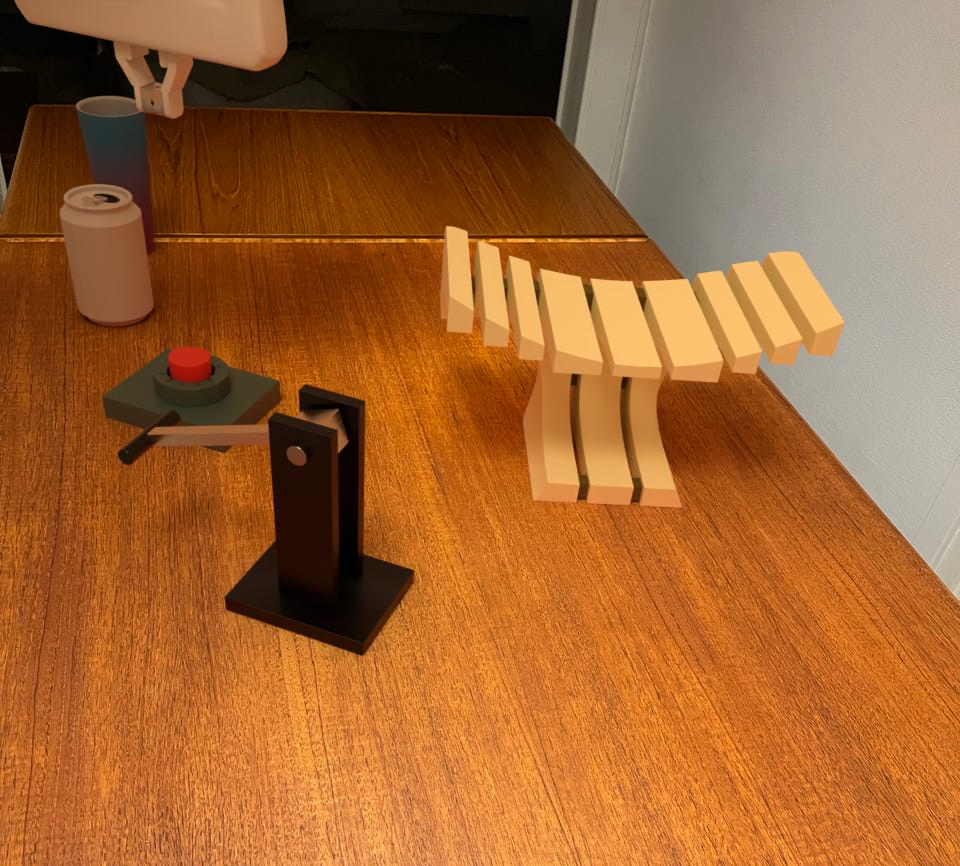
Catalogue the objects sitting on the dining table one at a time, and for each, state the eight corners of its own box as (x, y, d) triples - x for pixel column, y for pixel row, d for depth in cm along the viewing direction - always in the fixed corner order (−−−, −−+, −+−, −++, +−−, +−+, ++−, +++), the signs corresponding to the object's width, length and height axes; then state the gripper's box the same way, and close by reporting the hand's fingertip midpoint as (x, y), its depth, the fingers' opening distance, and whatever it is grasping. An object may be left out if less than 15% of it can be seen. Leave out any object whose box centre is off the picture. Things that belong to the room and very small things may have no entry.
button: (162, 377, 89) (159, 359, 87) (185, 360, 91) (182, 342, 90) (198, 388, 88) (195, 370, 87) (219, 370, 90) (218, 352, 89)
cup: (131, 231, 119) (110, 91, 108) (175, 247, 116) (158, 106, 106) (87, 248, 114) (61, 105, 104) (132, 265, 112) (109, 120, 102)
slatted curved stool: (735, 416, 100) (789, 237, 88) (776, 512, 88) (844, 322, 76) (433, 398, 97) (445, 211, 85) (435, 495, 86) (449, 295, 73)
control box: (106, 418, 90) (98, 377, 87) (169, 369, 97) (164, 330, 94) (224, 454, 87) (220, 413, 85) (280, 401, 94) (278, 362, 92)
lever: (125, 473, 70) (110, 442, 69) (174, 432, 74) (161, 402, 73) (320, 473, 64) (309, 439, 62) (361, 428, 68) (351, 395, 66)
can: (170, 311, 105) (155, 193, 97) (117, 337, 100) (97, 215, 92) (117, 290, 107) (98, 173, 99) (62, 314, 103) (38, 194, 94)
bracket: (225, 609, 73) (203, 419, 62) (285, 541, 79) (275, 358, 69) (362, 656, 71) (365, 467, 60) (413, 581, 77) (424, 399, 66)
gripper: (299, -97, 65) (306, 130, 75) (34, -144, 70) (72, 77, 79) (250, -86, 61) (263, 154, 70) (-30, -136, 65) (18, 97, 75)
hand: (160, 113), depth 75 cm, fingers closed
